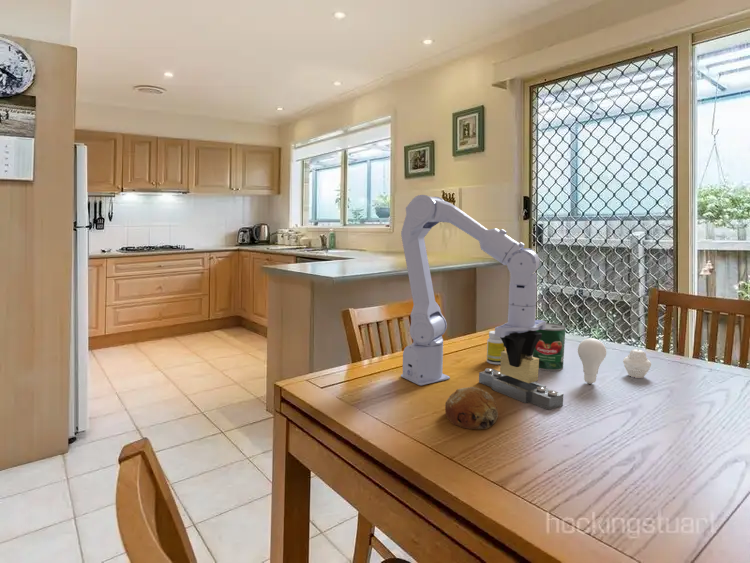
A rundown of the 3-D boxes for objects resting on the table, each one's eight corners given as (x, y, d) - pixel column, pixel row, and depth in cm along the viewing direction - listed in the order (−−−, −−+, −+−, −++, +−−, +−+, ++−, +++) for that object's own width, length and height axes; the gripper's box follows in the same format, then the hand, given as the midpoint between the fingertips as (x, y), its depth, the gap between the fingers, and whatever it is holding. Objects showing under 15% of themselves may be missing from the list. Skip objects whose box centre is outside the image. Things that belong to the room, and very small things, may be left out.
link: (528, 383, 98) (530, 358, 98) (500, 373, 105) (501, 350, 104) (537, 380, 100) (539, 356, 99) (509, 370, 107) (510, 348, 106)
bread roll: (491, 429, 93) (488, 389, 95) (507, 429, 83) (503, 384, 86) (443, 430, 93) (440, 389, 95) (453, 429, 83) (450, 384, 85)
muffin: (655, 378, 113) (658, 350, 113) (640, 381, 111) (642, 353, 110) (632, 371, 119) (634, 344, 118) (616, 374, 116) (618, 347, 115)
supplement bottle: (506, 364, 124) (507, 334, 122) (488, 364, 124) (489, 334, 123) (501, 359, 128) (503, 330, 127) (484, 359, 128) (485, 330, 127)
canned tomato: (538, 371, 119) (540, 329, 117) (527, 361, 126) (529, 322, 125) (568, 371, 119) (571, 329, 117) (556, 361, 126) (558, 322, 125)
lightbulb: (588, 389, 106) (591, 342, 104) (570, 380, 111) (572, 336, 110) (610, 386, 107) (613, 341, 106) (591, 378, 113) (594, 334, 112)
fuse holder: (545, 411, 93) (546, 396, 93) (475, 383, 109) (476, 370, 109) (565, 404, 97) (566, 390, 96) (495, 378, 113) (495, 366, 112)
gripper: (514, 310, 93) (511, 375, 95) (558, 303, 101) (555, 363, 103) (488, 305, 99) (486, 366, 101) (532, 299, 107) (529, 356, 108)
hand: (519, 364), depth 102 cm, fingers closed on link, 3 cm apart
